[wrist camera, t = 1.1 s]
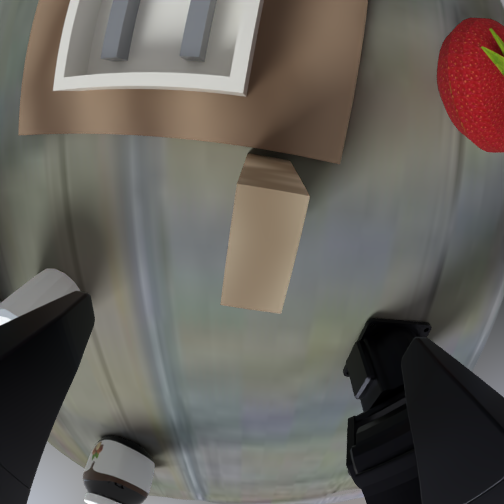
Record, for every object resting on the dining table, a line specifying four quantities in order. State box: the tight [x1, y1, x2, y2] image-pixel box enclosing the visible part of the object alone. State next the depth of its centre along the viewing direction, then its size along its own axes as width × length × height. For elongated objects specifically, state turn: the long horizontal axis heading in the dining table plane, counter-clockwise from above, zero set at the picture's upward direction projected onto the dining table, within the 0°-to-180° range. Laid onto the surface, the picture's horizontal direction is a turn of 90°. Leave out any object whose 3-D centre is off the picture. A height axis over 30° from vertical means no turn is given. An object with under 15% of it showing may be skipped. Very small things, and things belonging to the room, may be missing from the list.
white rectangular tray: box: [53, 0, 264, 97], centre depth 11 cm, size 10×10×3 cm
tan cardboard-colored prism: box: [221, 153, 310, 314], centre depth 15 cm, size 2×5×8 cm, turn 171°
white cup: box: [0, 269, 80, 325], centre depth 19 cm, size 7×7×7 cm
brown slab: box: [19, 0, 368, 164], centre depth 13 cm, size 22×16×1 cm
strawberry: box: [437, 18, 504, 153], centre depth 10 cm, size 6×8×10 cm
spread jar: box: [83, 436, 155, 504], centre depth 31 cm, size 12×11×12 cm
